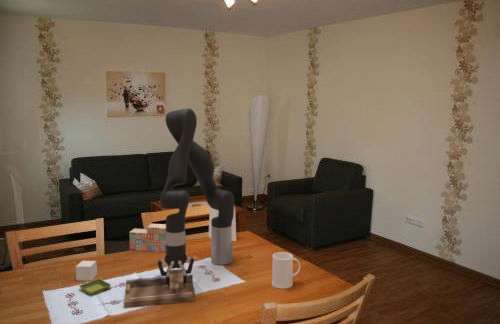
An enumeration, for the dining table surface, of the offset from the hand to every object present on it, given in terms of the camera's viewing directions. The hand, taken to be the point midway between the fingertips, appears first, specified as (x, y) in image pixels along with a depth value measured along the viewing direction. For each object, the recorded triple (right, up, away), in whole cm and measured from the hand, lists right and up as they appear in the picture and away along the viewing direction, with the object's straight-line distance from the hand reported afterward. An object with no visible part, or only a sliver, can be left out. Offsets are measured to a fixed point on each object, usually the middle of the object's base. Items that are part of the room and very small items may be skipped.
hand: (176, 284), depth 152 cm
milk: (+13, +5, +61) cm, 62 cm away
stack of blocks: (-20, +3, +45) cm, 49 cm away
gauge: (+1, -1, -2) cm, 3 cm away
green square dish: (-32, -3, +2) cm, 32 cm away
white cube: (-39, -1, +12) cm, 41 cm away
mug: (+43, -3, +8) cm, 44 cm away
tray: (-5, -3, -3) cm, 7 cm away
